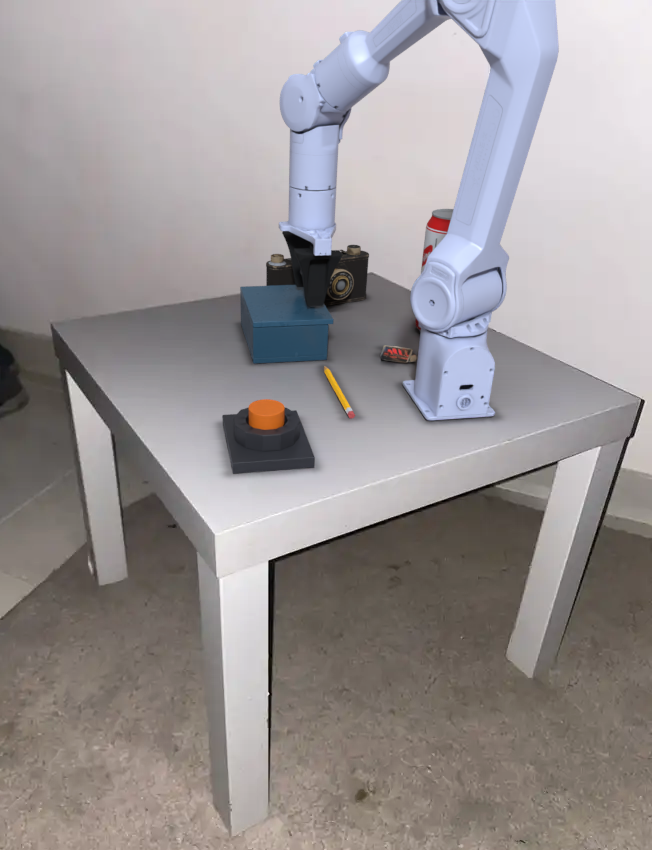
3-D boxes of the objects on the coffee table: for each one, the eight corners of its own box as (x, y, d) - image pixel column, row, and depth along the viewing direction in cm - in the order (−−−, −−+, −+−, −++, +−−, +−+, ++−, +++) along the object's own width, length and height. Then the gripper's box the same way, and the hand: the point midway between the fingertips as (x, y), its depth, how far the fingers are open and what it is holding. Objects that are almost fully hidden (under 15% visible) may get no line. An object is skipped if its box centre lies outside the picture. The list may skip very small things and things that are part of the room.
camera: (280, 320, 109) (281, 265, 105) (261, 305, 114) (261, 251, 110) (379, 305, 116) (384, 252, 111) (357, 291, 121) (360, 240, 116)
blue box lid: (312, 288, 107) (313, 255, 104) (333, 324, 95) (335, 287, 93) (240, 291, 105) (239, 257, 102) (253, 327, 94) (252, 290, 91)
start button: (287, 430, 76) (287, 414, 76) (251, 432, 76) (250, 416, 75) (281, 413, 79) (281, 398, 79) (246, 415, 79) (246, 400, 78)
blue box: (307, 321, 109) (308, 289, 106) (327, 360, 98) (328, 324, 95) (240, 324, 107) (240, 291, 105) (253, 363, 96) (253, 328, 94)
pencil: (348, 418, 85) (348, 413, 84) (320, 368, 96) (321, 363, 95) (355, 418, 85) (355, 412, 84) (327, 368, 96) (327, 363, 95)
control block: (314, 467, 76) (315, 441, 74) (232, 473, 74) (232, 446, 73) (296, 419, 84) (296, 395, 82) (222, 424, 82) (221, 399, 81)
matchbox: (381, 363, 97) (381, 359, 97) (378, 347, 101) (378, 343, 101) (418, 364, 97) (418, 360, 97) (413, 348, 101) (414, 345, 101)
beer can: (462, 326, 109) (478, 210, 101) (457, 342, 104) (474, 221, 96) (417, 320, 110) (430, 205, 102) (411, 336, 105) (424, 216, 97)
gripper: (270, 174, 98) (270, 278, 105) (290, 200, 86) (288, 316, 93) (325, 173, 99) (320, 276, 106) (351, 199, 87) (344, 314, 94)
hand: (309, 295), depth 100 cm, fingers open, 7 cm apart
